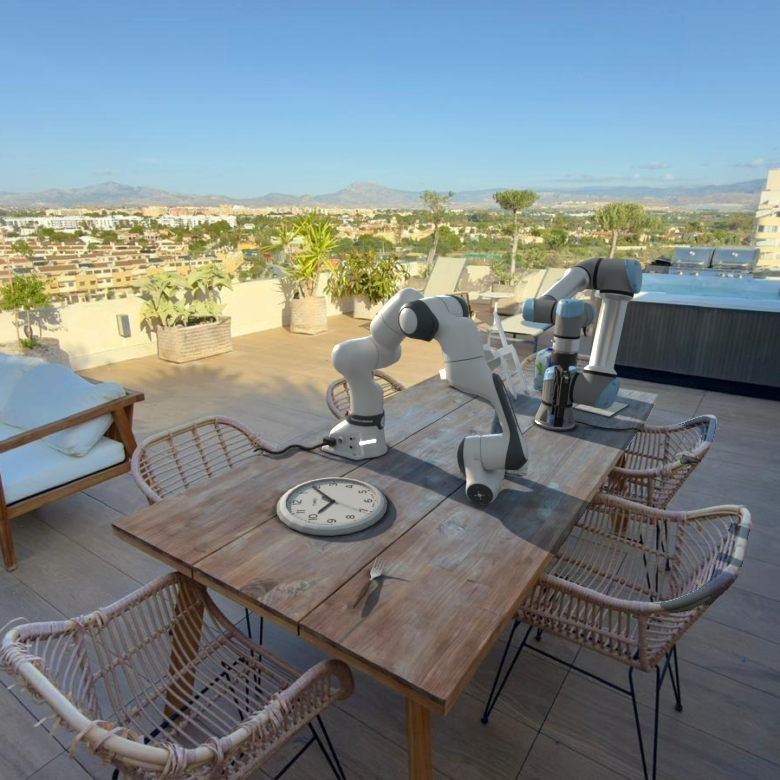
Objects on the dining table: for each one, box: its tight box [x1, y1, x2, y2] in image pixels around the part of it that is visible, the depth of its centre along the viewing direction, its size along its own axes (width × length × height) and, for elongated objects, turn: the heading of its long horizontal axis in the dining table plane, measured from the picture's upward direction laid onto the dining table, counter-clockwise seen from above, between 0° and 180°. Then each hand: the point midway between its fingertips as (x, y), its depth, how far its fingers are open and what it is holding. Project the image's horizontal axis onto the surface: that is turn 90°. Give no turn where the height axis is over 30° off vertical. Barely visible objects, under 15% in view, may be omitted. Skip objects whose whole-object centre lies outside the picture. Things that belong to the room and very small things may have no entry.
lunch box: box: [533, 345, 579, 392], centre depth 247 cm, size 26×11×21 cm, turn 134°
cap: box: [548, 415, 565, 425], centre depth 164 cm, size 5×5×2 cm
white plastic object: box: [438, 310, 531, 400], centre depth 245 cm, size 37×45×31 cm
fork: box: [352, 555, 387, 609], centre depth 110 cm, size 3×16×2 cm, turn 160°
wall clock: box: [276, 476, 388, 537], centre depth 142 cm, size 30×2×30 cm
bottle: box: [490, 408, 503, 434], centre depth 161 cm, size 5×5×22 cm
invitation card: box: [573, 401, 629, 418], centre depth 226 cm, size 21×1×15 cm
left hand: (497, 451), depth 164 cm, fingers closed on bottle, 5 cm apart
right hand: (556, 423), depth 164 cm, fingers closed on cap, 5 cm apart
